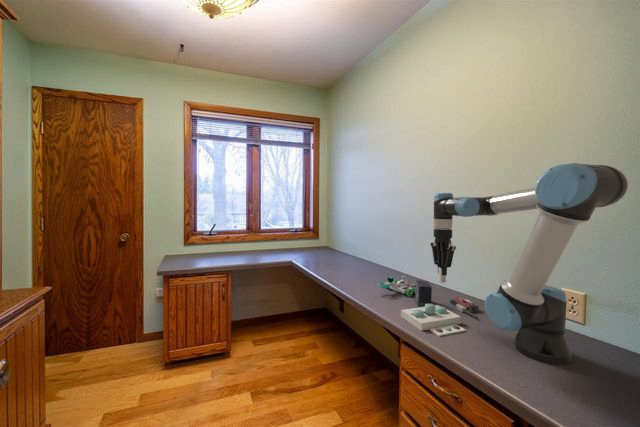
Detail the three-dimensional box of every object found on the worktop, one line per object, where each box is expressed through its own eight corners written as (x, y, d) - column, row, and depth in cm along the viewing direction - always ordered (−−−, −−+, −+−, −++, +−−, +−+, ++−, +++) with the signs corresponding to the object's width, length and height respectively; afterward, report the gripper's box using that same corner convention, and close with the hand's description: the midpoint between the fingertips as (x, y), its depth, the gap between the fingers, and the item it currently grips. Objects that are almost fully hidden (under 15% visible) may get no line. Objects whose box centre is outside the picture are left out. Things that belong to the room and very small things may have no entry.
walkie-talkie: (445, 303, 140) (474, 320, 121) (446, 295, 140) (474, 310, 121) (461, 302, 142) (492, 318, 122) (461, 294, 142) (492, 309, 122)
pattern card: (465, 331, 110) (465, 329, 110) (439, 336, 106) (439, 333, 106) (456, 325, 115) (456, 323, 115) (430, 330, 111) (430, 328, 111)
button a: (448, 318, 121) (448, 309, 121) (440, 319, 120) (440, 310, 120) (441, 314, 125) (441, 305, 125) (433, 315, 124) (434, 306, 124)
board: (460, 323, 117) (461, 316, 117) (421, 330, 111) (421, 323, 111) (437, 311, 130) (437, 304, 130) (400, 316, 124) (400, 310, 124)
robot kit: (368, 292, 159) (368, 276, 158) (399, 284, 172) (399, 269, 171) (393, 302, 143) (393, 284, 142) (424, 293, 156) (424, 277, 155)
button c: (425, 322, 117) (425, 312, 117) (417, 323, 116) (417, 314, 116) (419, 318, 121) (419, 309, 121) (411, 319, 120) (411, 310, 120)
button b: (437, 315, 119) (437, 306, 119) (429, 316, 118) (429, 307, 118) (430, 311, 123) (430, 303, 123) (422, 313, 122) (422, 304, 122)
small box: (432, 308, 134) (432, 286, 133) (418, 307, 135) (418, 286, 135) (428, 300, 144) (428, 280, 144) (415, 299, 146) (415, 279, 145)
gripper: (461, 229, 115) (460, 285, 116) (439, 227, 128) (438, 277, 129) (447, 230, 113) (446, 287, 114) (425, 227, 126) (425, 278, 127)
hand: (442, 282), depth 122 cm, fingers closed
